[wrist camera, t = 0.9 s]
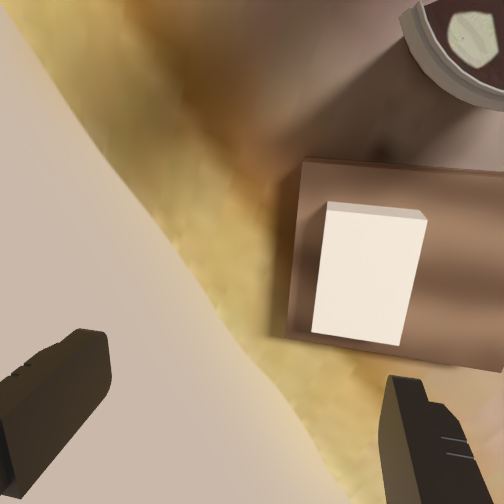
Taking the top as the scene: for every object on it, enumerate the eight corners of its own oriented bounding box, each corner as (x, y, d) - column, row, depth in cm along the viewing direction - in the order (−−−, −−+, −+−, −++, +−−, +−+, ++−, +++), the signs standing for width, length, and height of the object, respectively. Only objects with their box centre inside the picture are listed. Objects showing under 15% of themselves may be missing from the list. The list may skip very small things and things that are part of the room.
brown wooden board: (305, 156, 28) (302, 162, 25) (544, 175, 25) (569, 183, 22) (289, 318, 33) (285, 337, 30) (486, 349, 30) (501, 373, 27)
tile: (327, 201, 26) (326, 210, 24) (419, 210, 25) (427, 220, 22) (313, 314, 29) (311, 331, 27) (394, 326, 28) (398, 346, 26)
